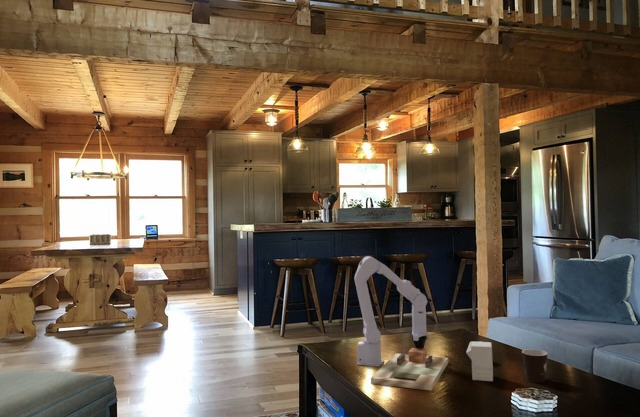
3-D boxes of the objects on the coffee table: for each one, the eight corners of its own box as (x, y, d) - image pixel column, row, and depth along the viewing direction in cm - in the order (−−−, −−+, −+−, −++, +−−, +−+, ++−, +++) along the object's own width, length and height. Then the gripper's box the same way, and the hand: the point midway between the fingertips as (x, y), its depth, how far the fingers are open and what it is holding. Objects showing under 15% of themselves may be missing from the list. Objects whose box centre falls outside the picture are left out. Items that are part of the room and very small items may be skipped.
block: (408, 361, 203) (408, 351, 203) (412, 357, 208) (411, 347, 208) (423, 362, 200) (423, 352, 200) (426, 358, 206) (426, 349, 206)
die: (485, 366, 202) (494, 345, 205) (466, 355, 204) (475, 334, 207) (479, 368, 210) (488, 347, 213) (460, 357, 211) (469, 337, 214)
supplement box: (493, 375, 189) (492, 342, 189) (493, 381, 182) (492, 346, 182) (472, 374, 191) (471, 340, 191) (471, 380, 184) (470, 345, 184)
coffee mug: (537, 385, 177) (536, 356, 177) (517, 378, 185) (516, 351, 185) (559, 379, 182) (558, 352, 182) (539, 373, 190) (538, 347, 190)
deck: (371, 383, 183) (370, 371, 183) (395, 358, 215) (395, 347, 215) (431, 390, 174) (431, 377, 174) (448, 362, 206) (447, 351, 206)
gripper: (425, 325, 200) (426, 359, 200) (432, 318, 214) (432, 350, 213) (407, 324, 203) (408, 358, 203) (415, 317, 217) (416, 349, 216)
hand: (419, 354), depth 208 cm, fingers closed
